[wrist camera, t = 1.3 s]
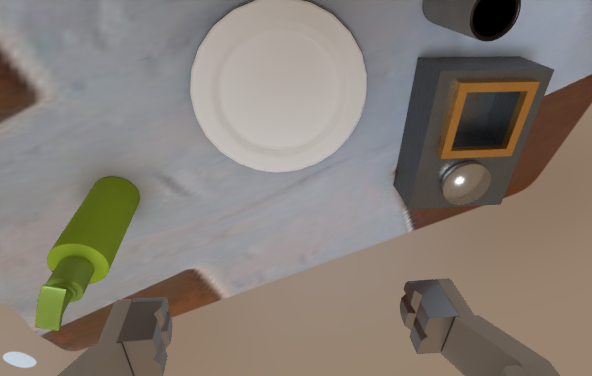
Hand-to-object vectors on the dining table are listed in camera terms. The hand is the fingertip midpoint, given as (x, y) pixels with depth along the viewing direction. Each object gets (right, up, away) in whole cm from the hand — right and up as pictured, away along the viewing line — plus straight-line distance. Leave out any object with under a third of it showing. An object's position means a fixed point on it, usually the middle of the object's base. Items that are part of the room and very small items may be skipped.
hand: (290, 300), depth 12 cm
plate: (-2, +16, +31) cm, 35 cm away
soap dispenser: (-24, +3, +36) cm, 43 cm away
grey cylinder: (+16, +25, +28) cm, 40 cm away
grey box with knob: (+21, +12, +36) cm, 43 cm away
